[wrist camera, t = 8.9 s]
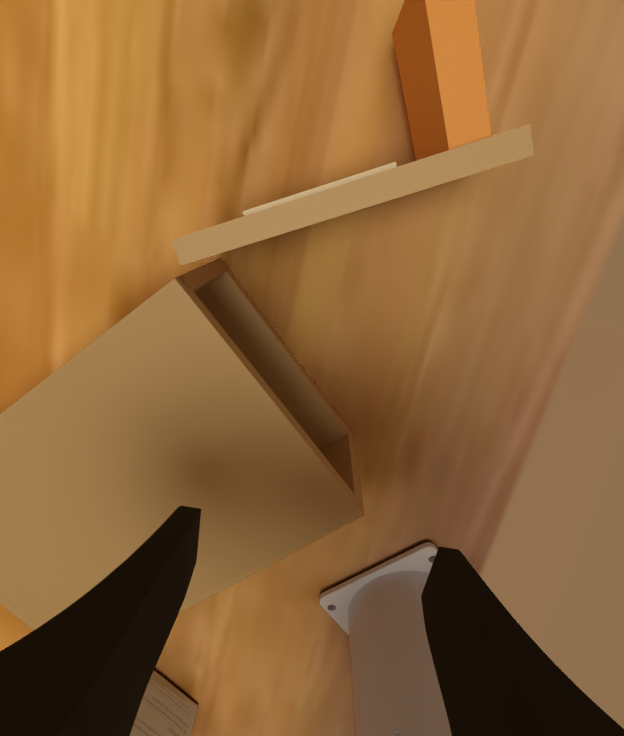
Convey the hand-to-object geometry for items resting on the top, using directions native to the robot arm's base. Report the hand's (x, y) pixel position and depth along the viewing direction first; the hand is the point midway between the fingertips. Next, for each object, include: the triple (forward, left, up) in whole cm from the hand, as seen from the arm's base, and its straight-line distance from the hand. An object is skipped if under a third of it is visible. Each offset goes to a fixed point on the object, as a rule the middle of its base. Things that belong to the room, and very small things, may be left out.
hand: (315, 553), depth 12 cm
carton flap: (+10, -7, -9) cm, 15 cm away
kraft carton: (+3, +7, -9) cm, 12 cm away
